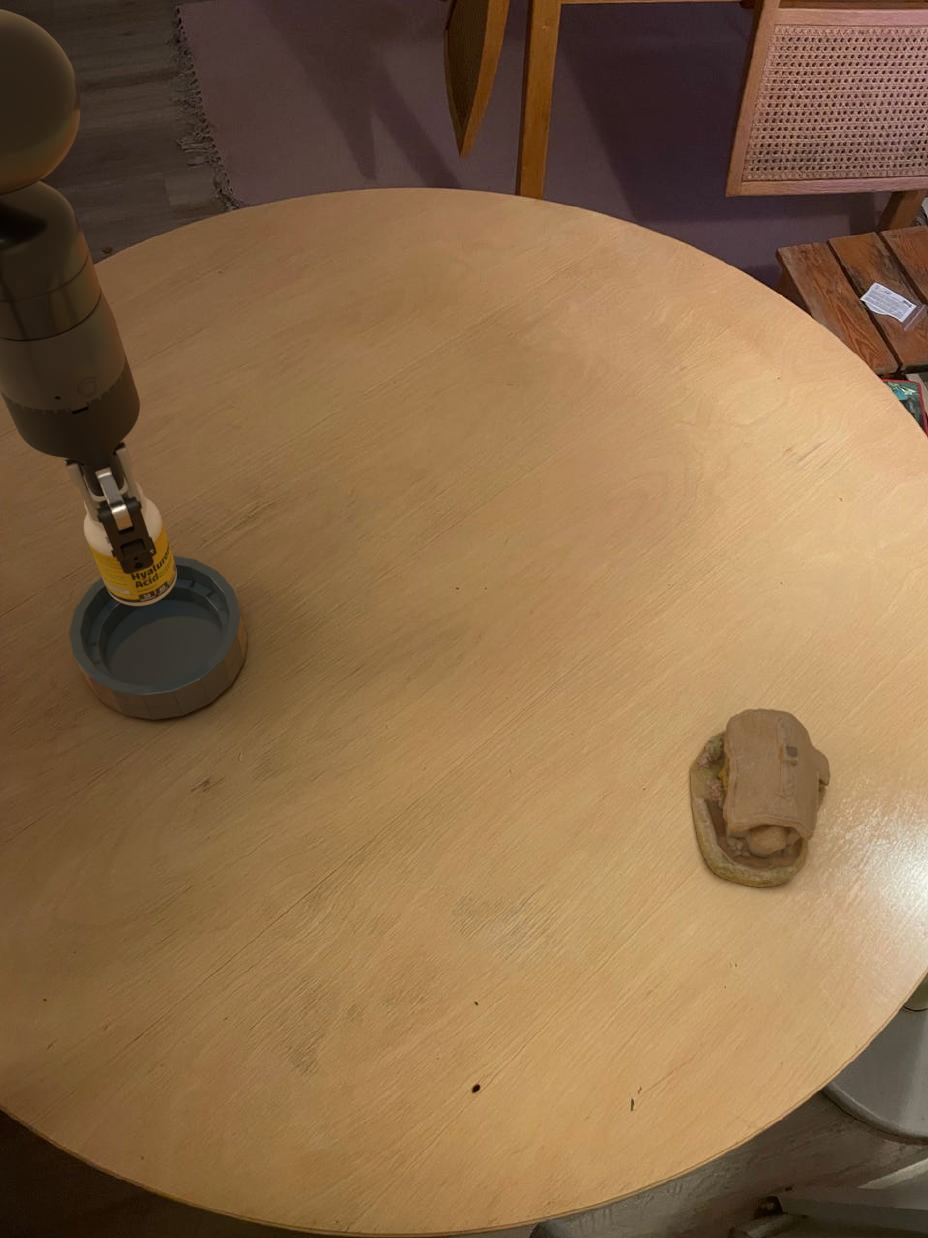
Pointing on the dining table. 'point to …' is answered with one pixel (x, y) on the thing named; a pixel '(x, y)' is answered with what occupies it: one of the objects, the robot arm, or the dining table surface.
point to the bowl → (161, 644)
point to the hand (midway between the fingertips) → (125, 536)
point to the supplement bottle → (143, 583)
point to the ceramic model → (758, 797)
